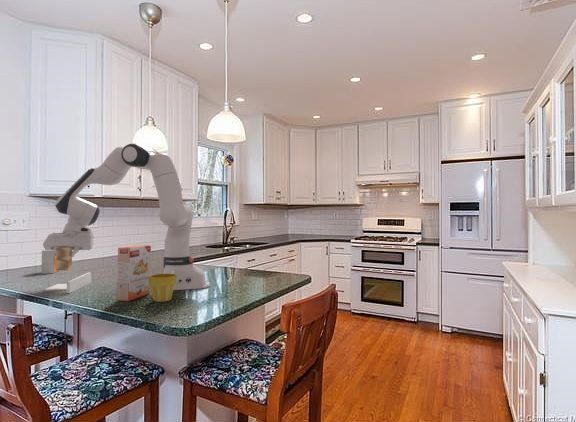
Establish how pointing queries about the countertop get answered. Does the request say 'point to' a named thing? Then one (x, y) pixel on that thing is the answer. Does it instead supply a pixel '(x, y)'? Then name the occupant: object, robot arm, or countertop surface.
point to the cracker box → (133, 272)
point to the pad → (57, 287)
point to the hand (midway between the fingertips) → (63, 256)
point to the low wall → (78, 282)
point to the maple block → (63, 258)
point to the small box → (48, 262)
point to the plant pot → (162, 286)
